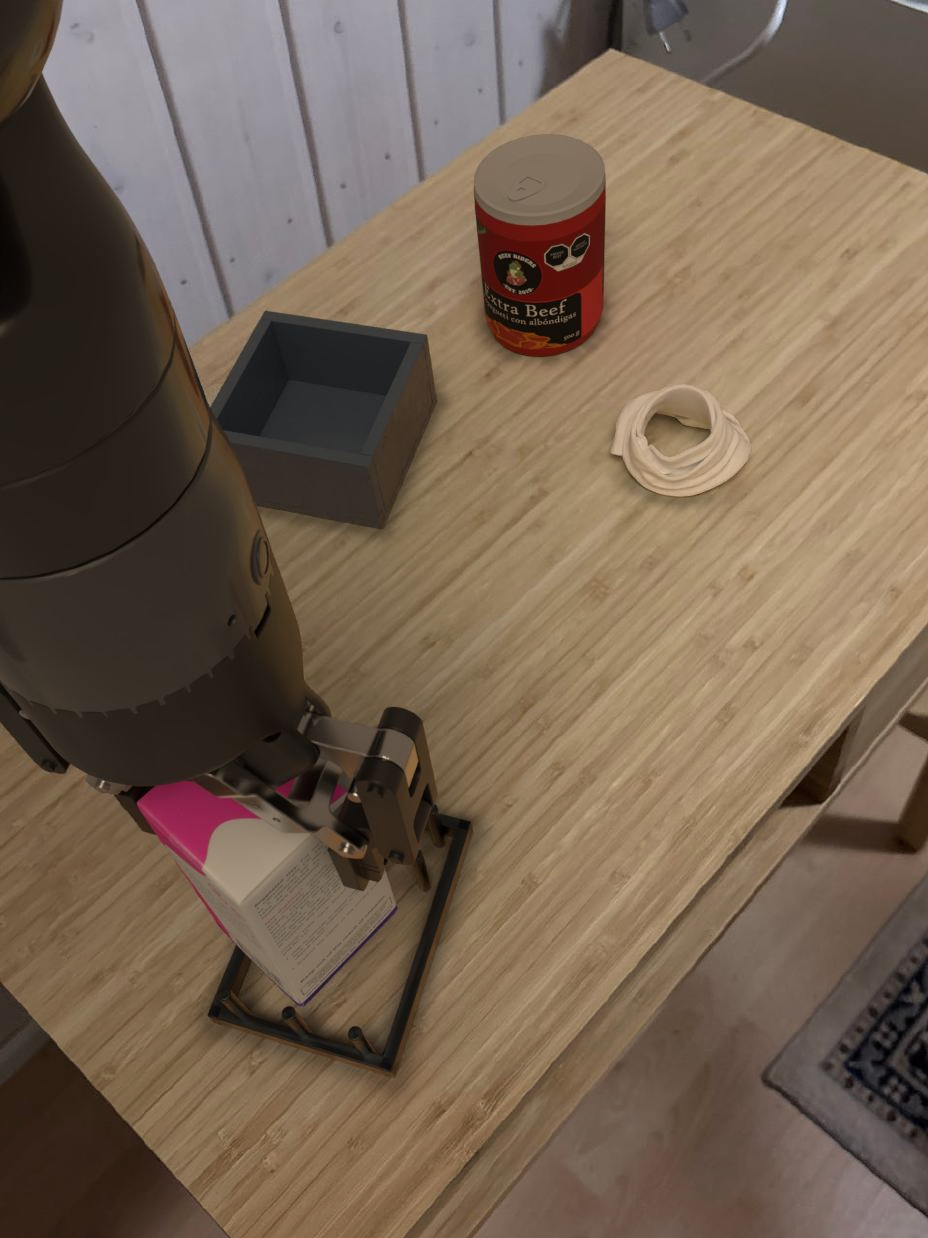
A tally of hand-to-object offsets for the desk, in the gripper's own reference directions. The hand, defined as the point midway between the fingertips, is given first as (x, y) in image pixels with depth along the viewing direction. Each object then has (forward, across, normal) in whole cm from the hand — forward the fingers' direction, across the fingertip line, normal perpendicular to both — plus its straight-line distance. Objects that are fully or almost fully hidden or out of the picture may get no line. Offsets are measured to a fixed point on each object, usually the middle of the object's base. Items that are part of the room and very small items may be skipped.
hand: (264, 837), depth 42 cm
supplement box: (+8, 0, 0) cm, 8 cm away
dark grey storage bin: (+14, -11, +30) cm, 35 cm away
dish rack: (+14, 0, +2) cm, 14 cm away
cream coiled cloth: (+14, +10, +34) cm, 38 cm away
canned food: (+14, -1, +44) cm, 46 cm away
